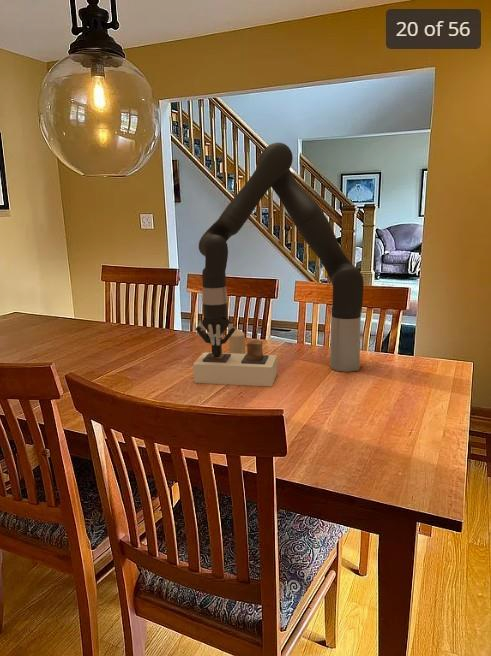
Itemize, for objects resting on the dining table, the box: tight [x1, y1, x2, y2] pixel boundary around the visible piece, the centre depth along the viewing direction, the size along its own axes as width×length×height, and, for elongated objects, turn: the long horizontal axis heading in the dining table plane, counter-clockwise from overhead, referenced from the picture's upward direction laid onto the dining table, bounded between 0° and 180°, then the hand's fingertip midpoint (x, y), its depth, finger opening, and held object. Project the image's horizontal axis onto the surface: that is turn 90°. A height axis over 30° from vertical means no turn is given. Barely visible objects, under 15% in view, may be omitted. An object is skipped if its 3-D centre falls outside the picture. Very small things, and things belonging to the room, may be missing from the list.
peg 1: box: [209, 354, 225, 359], centre depth 154 cm, size 4×4×7 cm
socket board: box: [192, 352, 278, 387], centre depth 153 cm, size 24×12×7 cm, turn 79°
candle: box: [228, 329, 246, 354], centre depth 172 cm, size 6×6×10 cm
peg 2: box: [246, 339, 264, 361], centre depth 150 cm, size 4×4×7 cm
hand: (216, 355), depth 153 cm, fingers closed
